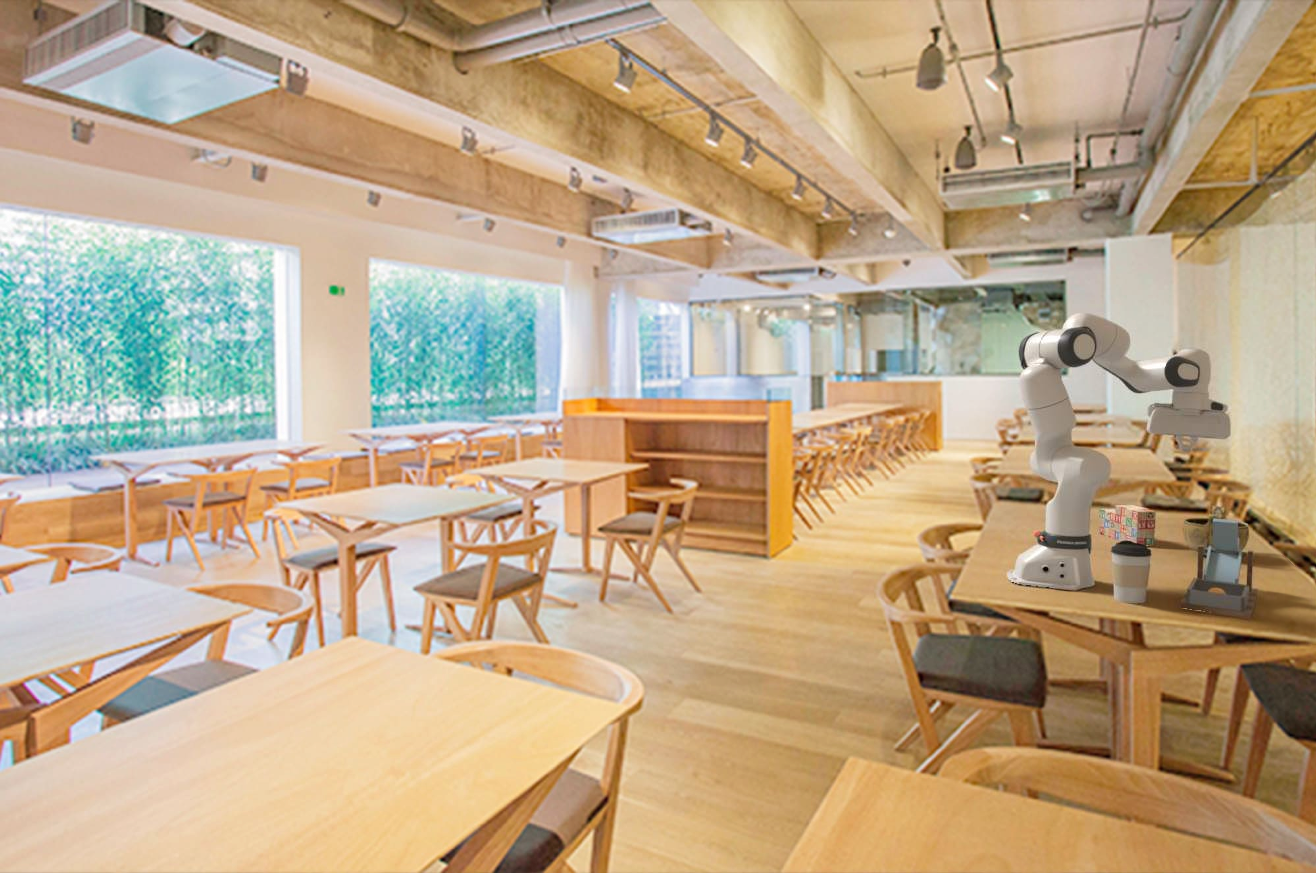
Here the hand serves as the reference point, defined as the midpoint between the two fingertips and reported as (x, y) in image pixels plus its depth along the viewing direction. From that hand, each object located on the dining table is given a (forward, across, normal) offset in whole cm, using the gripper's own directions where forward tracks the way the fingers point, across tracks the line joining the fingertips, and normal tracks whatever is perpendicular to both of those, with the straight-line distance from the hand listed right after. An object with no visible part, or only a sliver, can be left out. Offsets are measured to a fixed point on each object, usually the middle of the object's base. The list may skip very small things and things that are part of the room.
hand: (1185, 451), depth 223 cm
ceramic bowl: (+30, +17, +31) cm, 46 cm away
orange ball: (+39, +1, -34) cm, 51 cm away
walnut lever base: (+40, +5, -24) cm, 47 cm away
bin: (+40, +3, -30) cm, 50 cm away
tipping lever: (+34, +7, -15) cm, 38 cm away
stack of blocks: (+28, -4, +49) cm, 57 cm away
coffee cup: (+43, -16, -29) cm, 55 cm away
